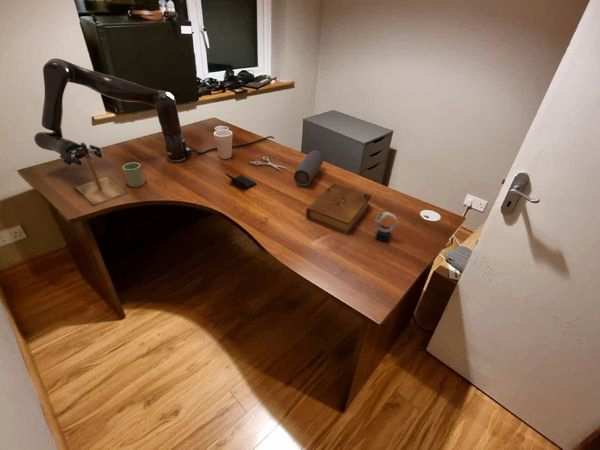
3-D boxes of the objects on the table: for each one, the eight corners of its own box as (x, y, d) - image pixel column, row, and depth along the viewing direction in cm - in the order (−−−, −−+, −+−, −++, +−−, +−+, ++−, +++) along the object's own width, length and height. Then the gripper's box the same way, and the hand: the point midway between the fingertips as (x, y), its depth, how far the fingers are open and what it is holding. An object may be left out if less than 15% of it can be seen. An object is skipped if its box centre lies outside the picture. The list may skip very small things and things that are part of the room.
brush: (101, 187, 148) (83, 141, 134) (103, 189, 147) (85, 142, 133) (97, 189, 146) (78, 142, 133) (99, 191, 145) (80, 144, 132)
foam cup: (238, 155, 179) (235, 132, 171) (226, 161, 173) (223, 138, 165) (225, 150, 183) (222, 128, 175) (213, 156, 177) (209, 133, 169)
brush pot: (140, 177, 157) (135, 160, 151) (148, 183, 153) (143, 166, 147) (125, 183, 152) (119, 165, 147) (132, 189, 148) (127, 171, 143)
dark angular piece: (258, 179, 156) (247, 168, 147) (252, 192, 154) (240, 183, 146) (240, 175, 161) (228, 165, 153) (234, 188, 160) (221, 179, 151)
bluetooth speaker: (311, 190, 153) (312, 170, 147) (292, 186, 155) (292, 167, 149) (324, 168, 170) (325, 150, 164) (307, 165, 172) (308, 147, 166)
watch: (373, 230, 130) (378, 207, 123) (394, 235, 128) (400, 212, 121) (370, 238, 126) (375, 215, 119) (391, 244, 124) (398, 220, 117)
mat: (107, 177, 156) (107, 176, 156) (126, 193, 146) (126, 192, 145) (75, 188, 148) (75, 186, 148) (93, 205, 137) (93, 204, 137)
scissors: (263, 155, 179) (292, 165, 169) (263, 156, 179) (292, 167, 170) (249, 162, 172) (279, 173, 162) (249, 163, 172) (279, 174, 163)
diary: (331, 194, 151) (332, 183, 147) (369, 206, 143) (371, 195, 140) (305, 218, 135) (306, 207, 131) (347, 234, 127) (349, 222, 124)
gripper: (48, 146, 136) (70, 156, 129) (82, 135, 146) (104, 144, 139) (55, 163, 141) (77, 173, 134) (88, 151, 150) (109, 161, 144)
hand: (90, 159), depth 136 cm, fingers open, 8 cm apart
